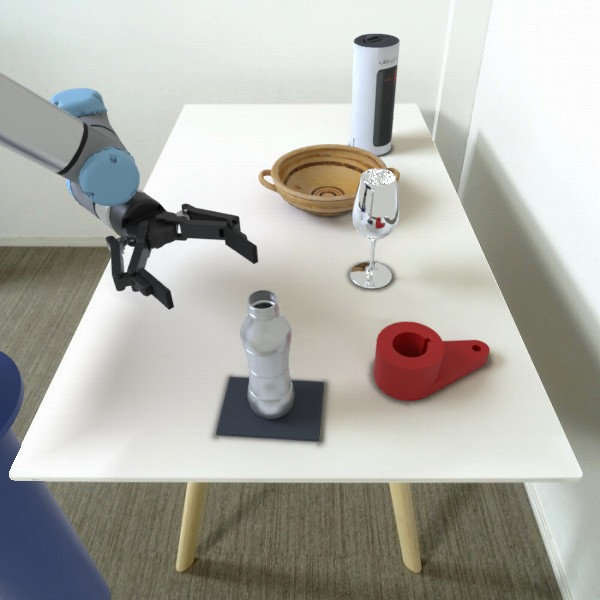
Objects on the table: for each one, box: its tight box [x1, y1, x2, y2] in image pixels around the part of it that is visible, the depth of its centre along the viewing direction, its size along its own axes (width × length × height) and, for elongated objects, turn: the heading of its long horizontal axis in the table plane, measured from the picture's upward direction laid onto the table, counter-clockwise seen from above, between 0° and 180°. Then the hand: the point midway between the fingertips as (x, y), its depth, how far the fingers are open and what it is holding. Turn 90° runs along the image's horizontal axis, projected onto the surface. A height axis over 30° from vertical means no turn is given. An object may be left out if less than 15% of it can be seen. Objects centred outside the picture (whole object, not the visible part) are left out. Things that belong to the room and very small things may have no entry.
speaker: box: [349, 33, 401, 157], centre depth 130 cm, size 11×10×26 cm
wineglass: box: [349, 168, 400, 290], centre depth 93 cm, size 8×8×20 cm
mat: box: [215, 376, 325, 442], centre depth 78 cm, size 14×10×1 cm
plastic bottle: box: [239, 289, 295, 419], centre depth 71 cm, size 6×7×20 cm
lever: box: [373, 321, 491, 402], centre depth 80 cm, size 18×9×7 cm, turn 106°
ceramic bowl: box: [258, 143, 401, 217], centre depth 117 cm, size 30×24×8 cm
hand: (214, 276), depth 71 cm, fingers open, 13 cm apart
